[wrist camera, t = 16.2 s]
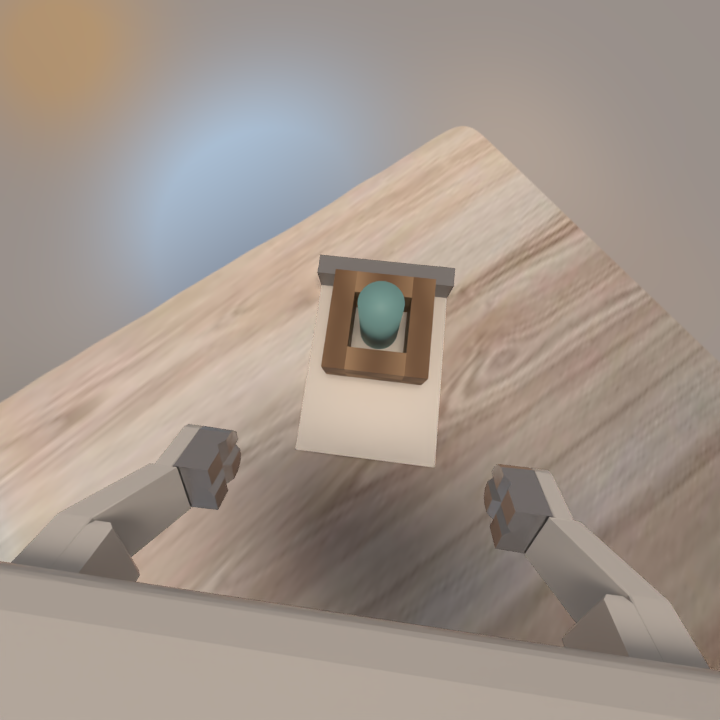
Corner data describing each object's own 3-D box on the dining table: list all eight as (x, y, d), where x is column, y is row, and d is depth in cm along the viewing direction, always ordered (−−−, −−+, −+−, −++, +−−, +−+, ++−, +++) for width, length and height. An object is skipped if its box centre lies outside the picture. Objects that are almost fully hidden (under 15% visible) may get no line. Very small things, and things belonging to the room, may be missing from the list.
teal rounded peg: (398, 315, 36) (406, 282, 28) (396, 350, 35) (403, 327, 27) (362, 312, 36) (360, 279, 28) (358, 347, 35) (355, 323, 28)
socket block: (428, 295, 36) (436, 279, 33) (421, 385, 34) (428, 379, 30) (339, 286, 37) (335, 268, 33) (326, 373, 35) (320, 366, 31)
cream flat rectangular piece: (445, 285, 38) (455, 268, 34) (432, 466, 34) (441, 471, 30) (325, 272, 38) (320, 254, 35) (297, 449, 34) (288, 451, 30)
